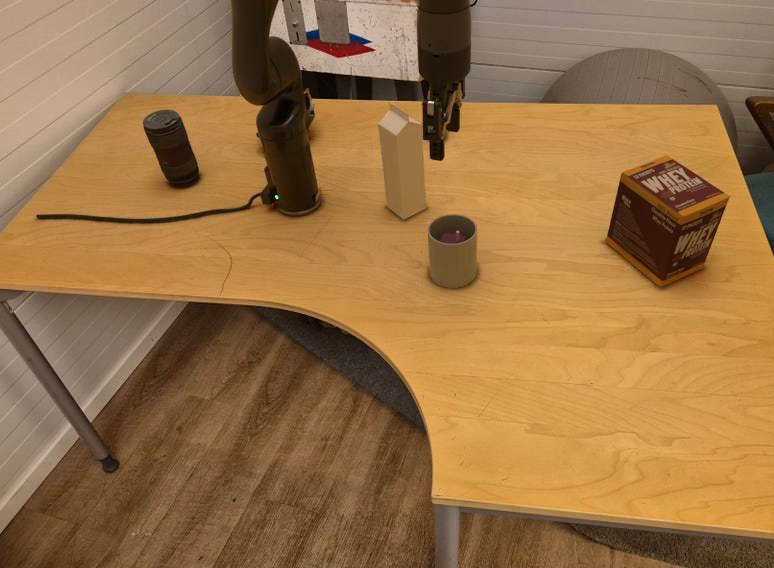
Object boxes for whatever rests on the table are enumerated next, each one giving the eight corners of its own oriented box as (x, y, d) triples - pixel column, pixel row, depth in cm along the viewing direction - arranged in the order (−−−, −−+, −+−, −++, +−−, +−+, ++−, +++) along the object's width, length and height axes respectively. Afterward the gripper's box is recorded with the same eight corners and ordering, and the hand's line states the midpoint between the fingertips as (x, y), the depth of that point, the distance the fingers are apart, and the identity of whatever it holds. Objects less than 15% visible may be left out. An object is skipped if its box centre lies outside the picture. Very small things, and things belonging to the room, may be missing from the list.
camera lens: (159, 186, 142) (133, 125, 131) (180, 167, 147) (157, 106, 136) (188, 193, 140) (164, 130, 129) (209, 173, 145) (187, 111, 134)
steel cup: (423, 283, 116) (421, 240, 109) (437, 253, 122) (435, 210, 114) (469, 291, 114) (469, 248, 107) (481, 261, 119) (482, 218, 112)
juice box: (439, 273, 117) (438, 234, 110) (444, 262, 119) (443, 223, 112) (461, 277, 116) (461, 238, 109) (466, 266, 118) (466, 227, 111)
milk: (403, 220, 129) (394, 119, 112) (386, 207, 132) (375, 107, 116) (427, 208, 131) (421, 108, 115) (409, 195, 135) (401, 96, 118)
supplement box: (660, 289, 112) (683, 216, 100) (604, 242, 121) (620, 170, 109) (704, 268, 115) (732, 196, 103) (647, 224, 124) (666, 153, 112)
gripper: (433, 15, 92) (435, 119, 105) (401, 58, 84) (408, 166, 96) (483, 20, 91) (479, 125, 103) (455, 64, 82) (455, 173, 94)
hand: (445, 144), depth 100 cm, fingers open, 8 cm apart
